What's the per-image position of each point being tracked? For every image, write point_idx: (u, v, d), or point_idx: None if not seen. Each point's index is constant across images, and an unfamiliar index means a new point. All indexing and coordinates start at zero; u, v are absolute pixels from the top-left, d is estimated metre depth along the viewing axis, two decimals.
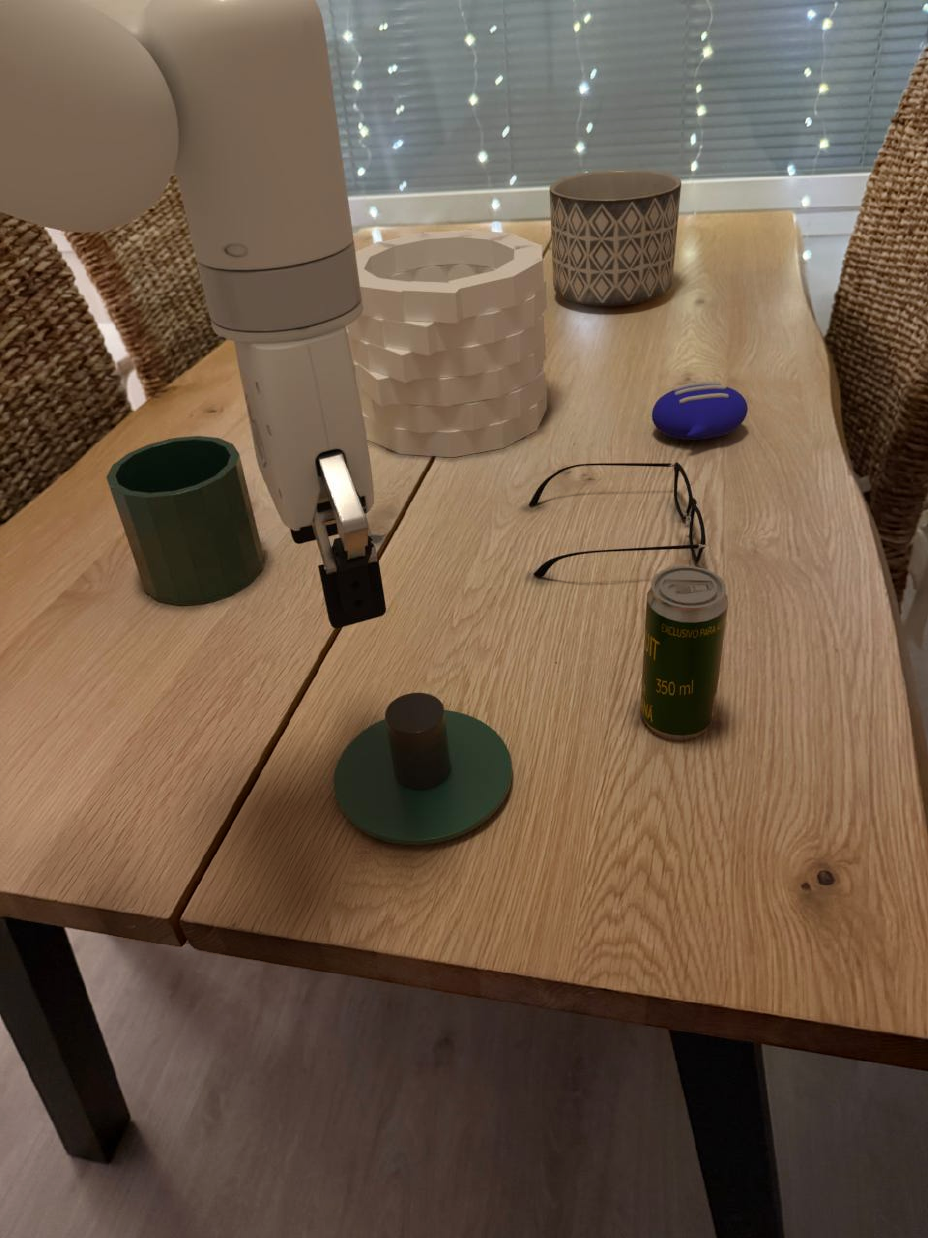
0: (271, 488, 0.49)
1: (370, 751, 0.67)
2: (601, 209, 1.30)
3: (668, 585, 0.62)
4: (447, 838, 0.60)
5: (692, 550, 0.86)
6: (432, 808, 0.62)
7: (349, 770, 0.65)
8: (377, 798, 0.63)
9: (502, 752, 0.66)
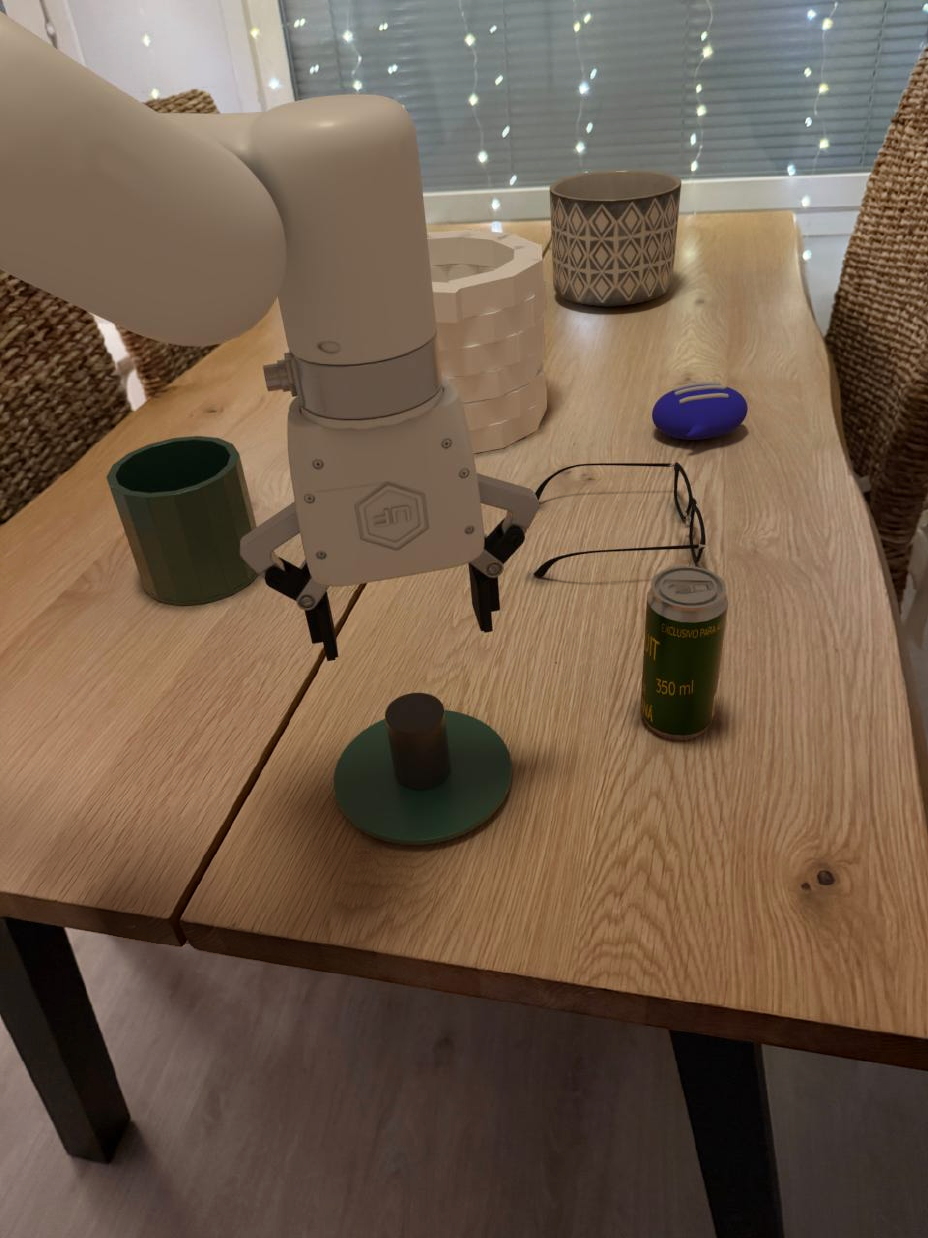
0: (425, 553, 0.51)
1: (370, 751, 0.67)
2: (601, 209, 1.30)
3: (668, 585, 0.62)
4: (447, 838, 0.60)
5: (692, 550, 0.86)
6: (432, 808, 0.62)
7: (349, 770, 0.65)
8: (377, 798, 0.63)
9: (502, 752, 0.66)
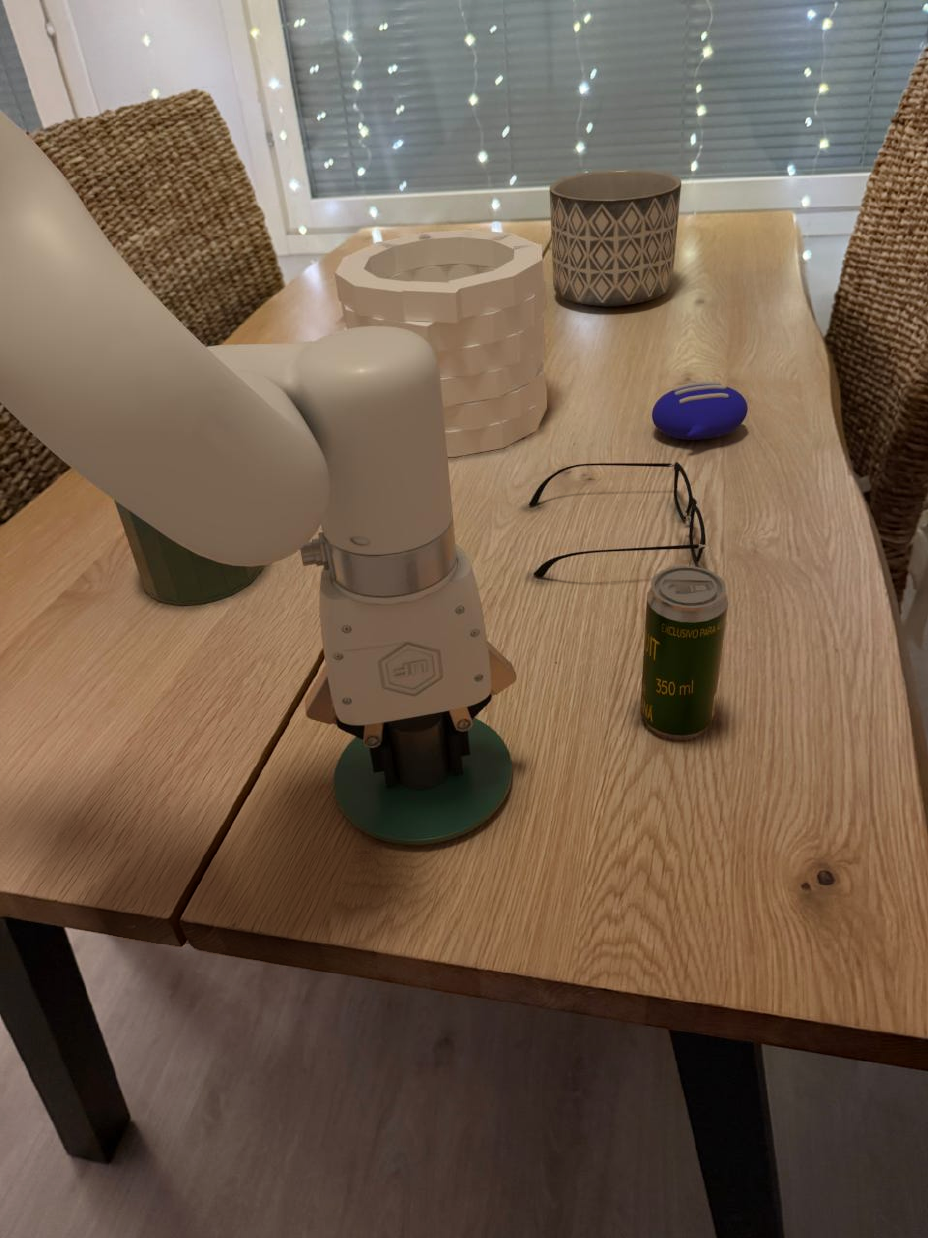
0: (439, 697, 0.57)
1: None
2: (601, 209, 1.30)
3: (668, 585, 0.62)
4: (447, 838, 0.60)
5: (692, 550, 0.86)
6: (432, 808, 0.62)
7: (349, 770, 0.65)
8: (377, 798, 0.63)
9: (502, 752, 0.66)
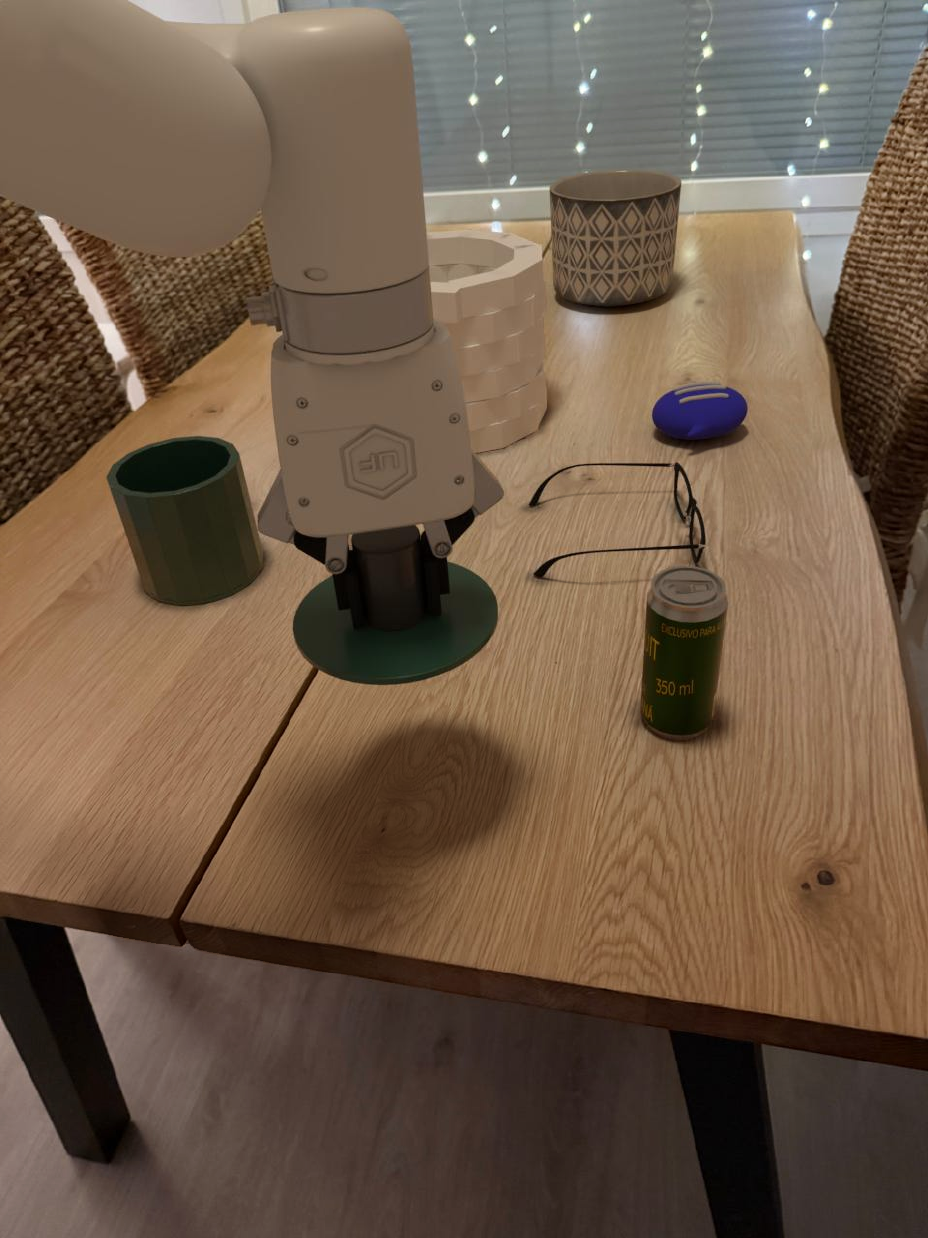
0: (413, 503, 0.49)
1: None
2: (601, 209, 1.30)
3: (668, 585, 0.62)
4: (422, 677, 0.52)
5: (692, 550, 0.86)
6: (405, 648, 0.53)
7: (311, 613, 0.57)
8: (342, 639, 0.55)
9: (487, 595, 0.57)
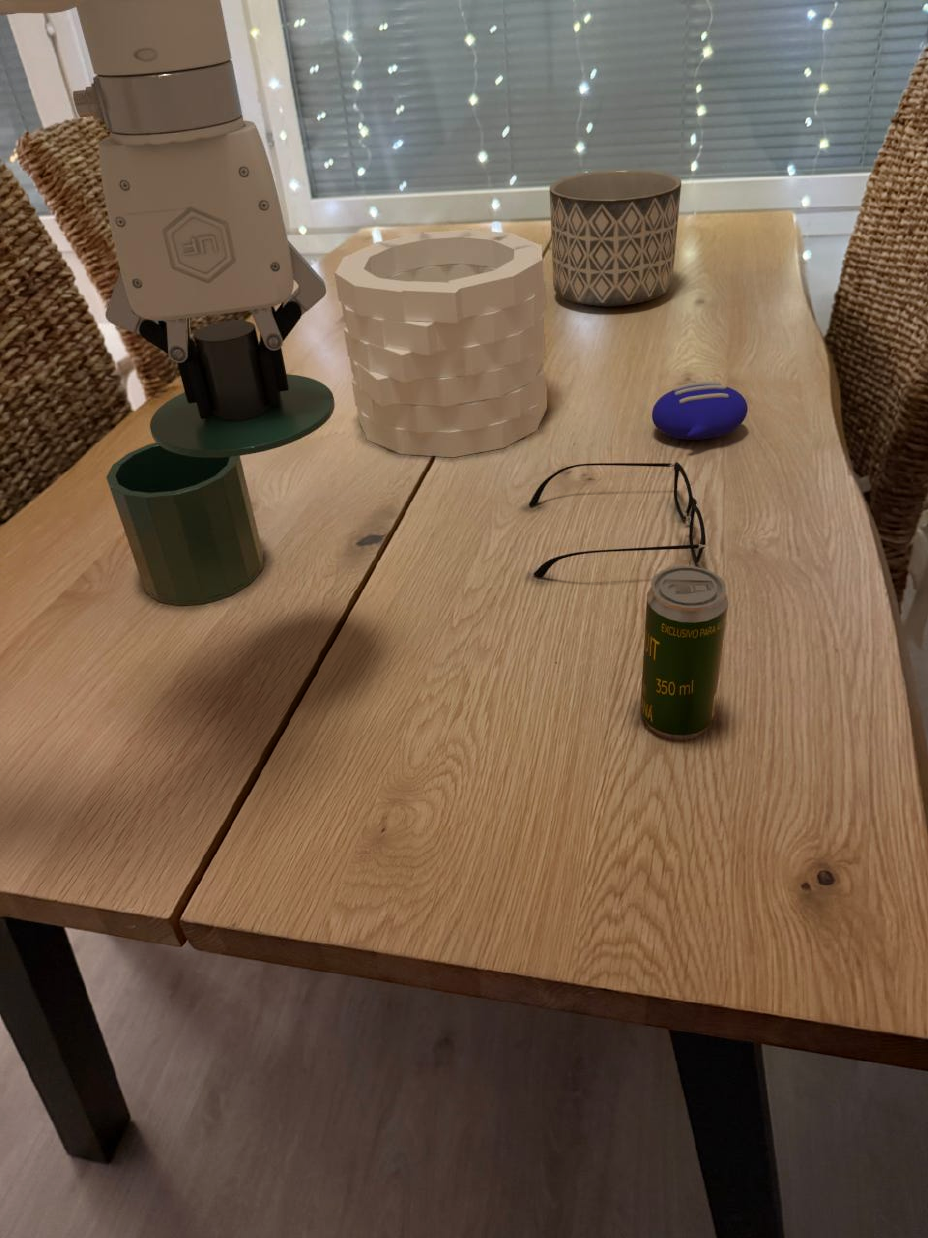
0: (235, 288, 0.56)
1: None
2: (601, 209, 1.30)
3: (668, 585, 0.62)
4: (252, 450, 0.59)
5: (692, 550, 0.86)
6: (243, 431, 0.60)
7: (169, 411, 0.64)
8: (190, 427, 0.62)
9: (326, 396, 0.64)
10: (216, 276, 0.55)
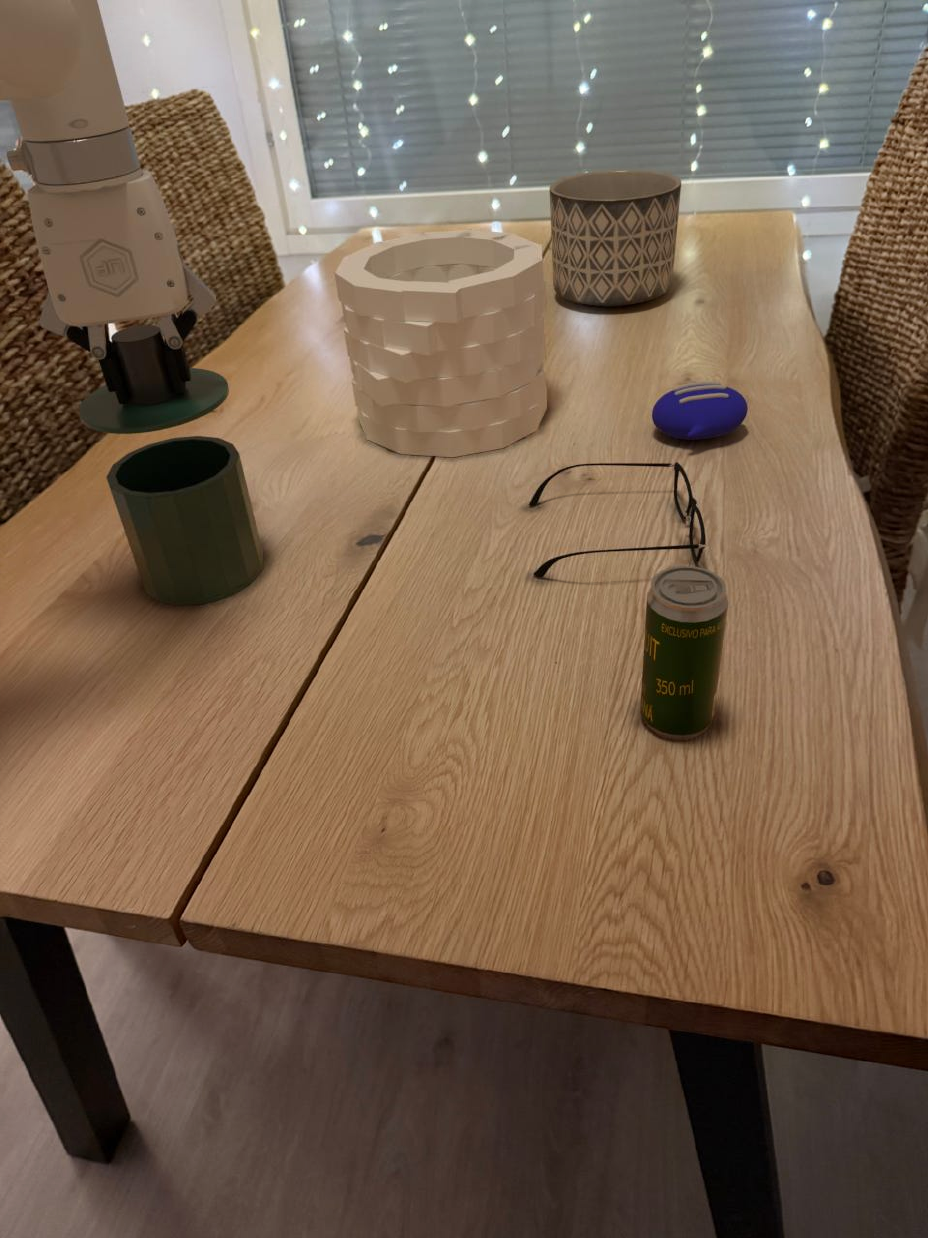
0: (140, 300, 0.72)
1: None
2: (601, 209, 1.30)
3: (668, 585, 0.62)
4: (157, 428, 0.74)
5: (692, 550, 0.86)
6: (151, 413, 0.76)
7: (95, 398, 0.80)
8: (110, 410, 0.77)
9: (222, 385, 0.80)
10: (124, 291, 0.71)
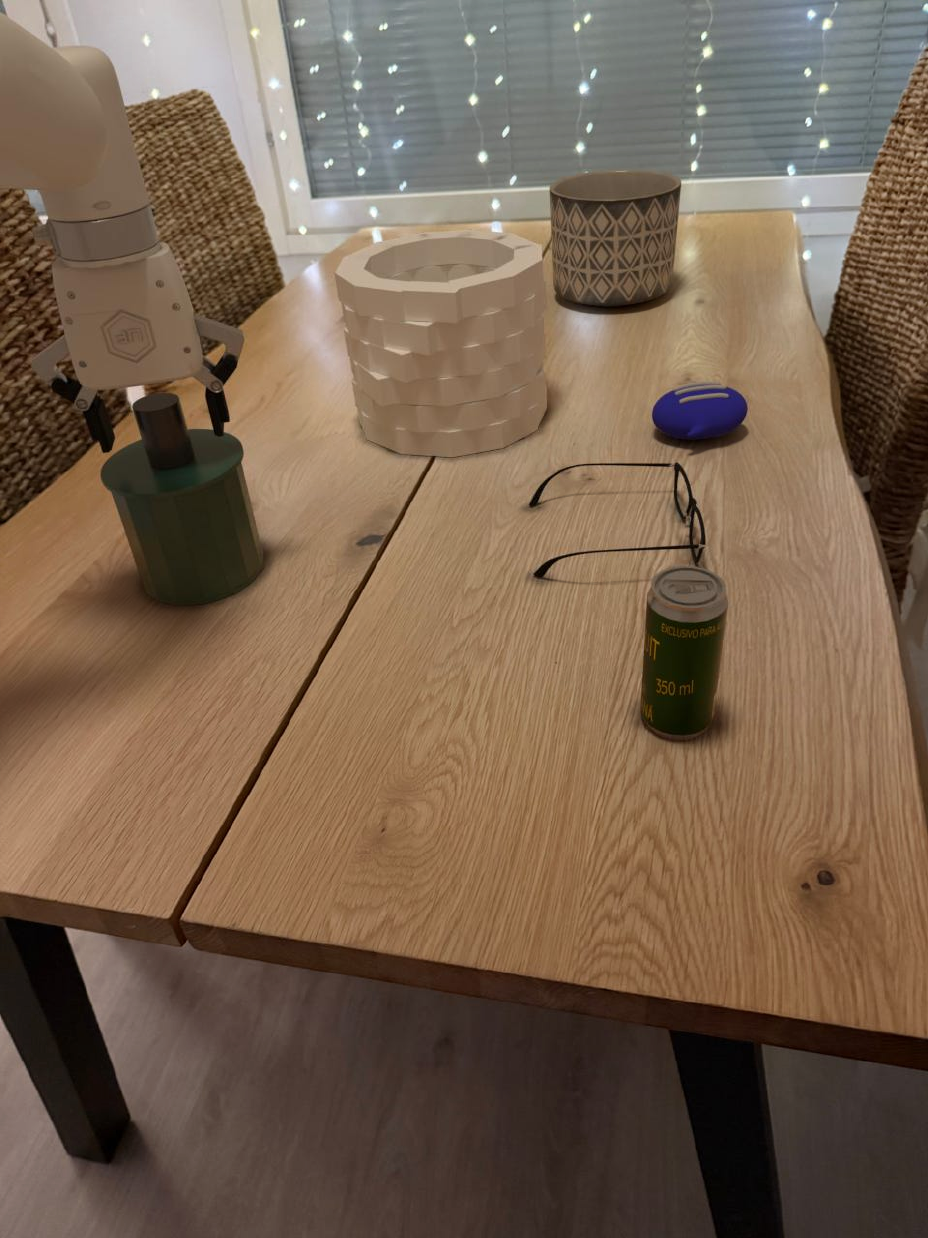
0: (157, 366, 0.75)
1: (136, 451, 0.84)
2: (601, 209, 1.30)
3: (668, 585, 0.62)
4: (176, 493, 0.78)
5: (692, 550, 0.86)
6: (170, 478, 0.80)
7: (116, 461, 0.83)
8: (131, 474, 0.81)
9: (237, 448, 0.83)
10: (142, 358, 0.74)
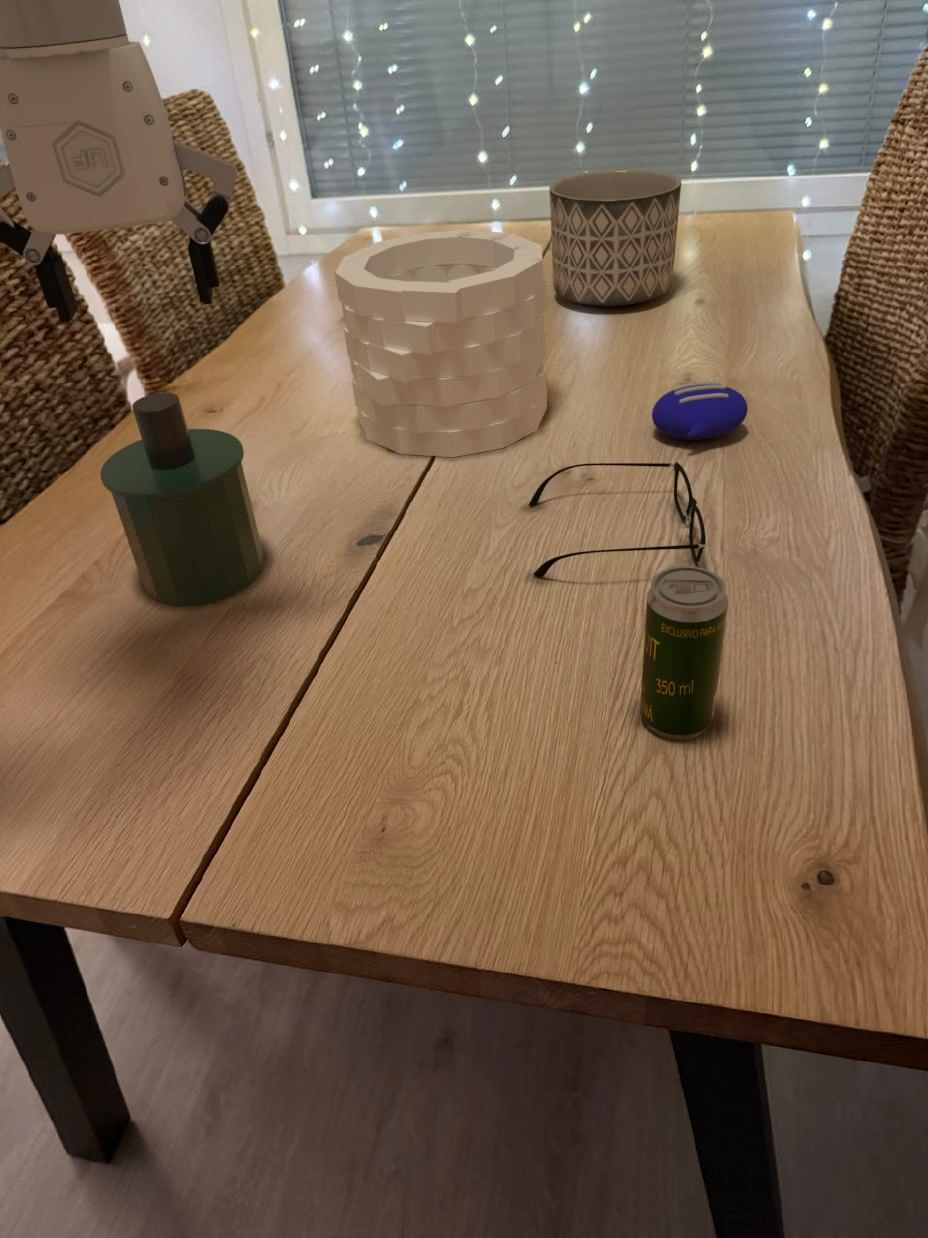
0: (126, 201, 0.59)
1: (136, 451, 0.84)
2: (601, 209, 1.30)
3: (668, 585, 0.62)
4: (176, 493, 0.78)
5: (692, 550, 0.86)
6: (170, 478, 0.80)
7: (116, 461, 0.83)
8: (131, 474, 0.81)
9: (237, 448, 0.83)
10: (107, 190, 0.58)
